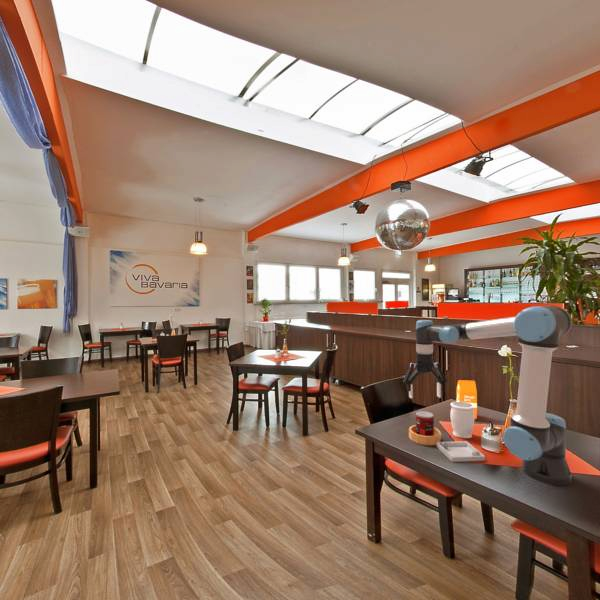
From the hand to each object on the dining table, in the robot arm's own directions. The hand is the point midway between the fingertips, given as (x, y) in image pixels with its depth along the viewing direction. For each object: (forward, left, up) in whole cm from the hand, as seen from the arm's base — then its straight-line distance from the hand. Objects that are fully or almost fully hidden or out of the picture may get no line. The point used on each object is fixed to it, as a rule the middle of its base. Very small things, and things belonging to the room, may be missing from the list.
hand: (424, 397), depth 158 cm
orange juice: (+28, -36, -20) cm, 50 cm away
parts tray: (-15, -9, -20) cm, 26 cm away
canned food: (0, 0, -19) cm, 19 cm away
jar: (+3, -20, -20) cm, 28 cm away
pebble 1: (-10, -4, -20) cm, 23 cm away
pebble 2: (-19, -13, -20) cm, 31 cm away
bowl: (0, 0, -20) cm, 20 cm away
